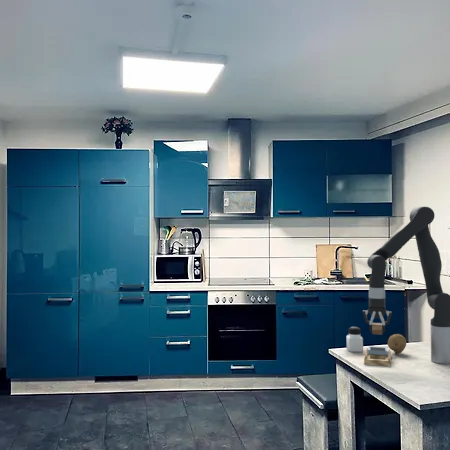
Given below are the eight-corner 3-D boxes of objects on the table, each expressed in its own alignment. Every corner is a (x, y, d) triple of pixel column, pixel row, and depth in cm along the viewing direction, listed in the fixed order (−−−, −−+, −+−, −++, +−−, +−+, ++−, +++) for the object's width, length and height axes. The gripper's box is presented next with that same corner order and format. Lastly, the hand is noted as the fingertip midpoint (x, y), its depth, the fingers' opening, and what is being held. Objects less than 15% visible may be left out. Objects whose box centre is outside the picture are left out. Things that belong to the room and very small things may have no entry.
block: (382, 334, 229) (382, 325, 229) (372, 334, 231) (372, 324, 231) (382, 332, 233) (382, 323, 233) (372, 332, 235) (372, 322, 235)
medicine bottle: (363, 351, 253) (363, 328, 253) (349, 351, 253) (349, 328, 253) (359, 348, 260) (359, 326, 260) (346, 348, 260) (346, 326, 260)
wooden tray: (390, 356, 243) (390, 349, 243) (391, 366, 225) (390, 358, 225) (365, 354, 247) (365, 347, 247) (364, 364, 229) (364, 357, 229)
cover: (387, 351, 242) (387, 344, 242) (387, 355, 234) (387, 348, 234) (368, 350, 245) (368, 343, 245) (368, 354, 237) (368, 346, 237)
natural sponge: (396, 356, 243) (396, 336, 243) (383, 352, 251) (383, 333, 251) (410, 354, 246) (409, 334, 247) (397, 350, 255) (397, 331, 255)
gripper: (361, 297, 231) (361, 333, 231) (392, 298, 226) (393, 335, 226) (361, 295, 238) (362, 330, 238) (392, 296, 233) (393, 332, 233)
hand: (377, 332), depth 232 cm, fingers closed on block, 4 cm apart
